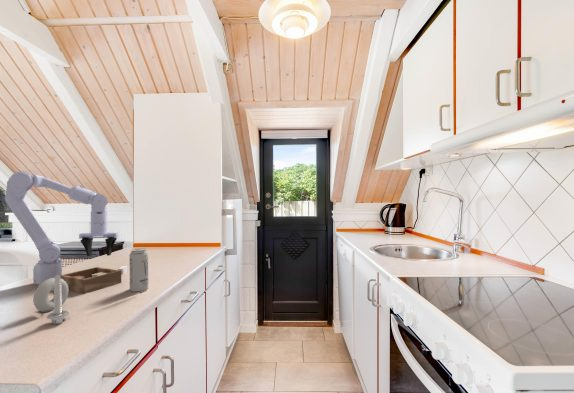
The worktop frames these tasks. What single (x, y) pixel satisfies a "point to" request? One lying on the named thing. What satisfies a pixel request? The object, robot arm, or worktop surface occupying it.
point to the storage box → (91, 279)
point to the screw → (57, 303)
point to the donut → (43, 292)
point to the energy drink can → (138, 270)
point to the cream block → (98, 274)
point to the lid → (123, 269)
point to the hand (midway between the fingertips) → (99, 255)
